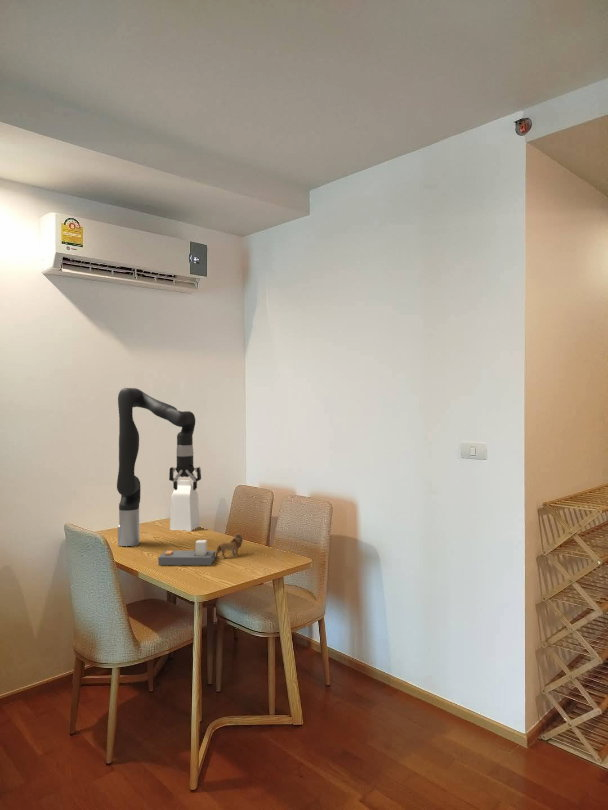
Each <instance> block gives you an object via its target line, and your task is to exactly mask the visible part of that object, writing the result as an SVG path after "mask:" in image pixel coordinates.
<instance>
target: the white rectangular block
mask: <svg viewBox="0 0 608 810" xmlns="http://www.w3.org/2000/svg"><path fill="white" fill-rule="evenodd" d="M207 543H208V540H207V539H198V540H197V539H196V541H195V551H196V556H206V555H207V551H208V544H207Z"/></svg>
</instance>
